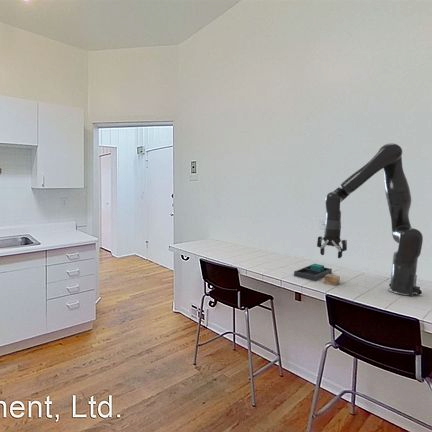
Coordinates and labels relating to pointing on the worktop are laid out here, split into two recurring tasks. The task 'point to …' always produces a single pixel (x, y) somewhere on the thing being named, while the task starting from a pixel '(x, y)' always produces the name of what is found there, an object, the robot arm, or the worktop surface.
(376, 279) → the worktop surface
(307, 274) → the dark grey compartment tray
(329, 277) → the tan rounded lump
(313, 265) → the teal block
